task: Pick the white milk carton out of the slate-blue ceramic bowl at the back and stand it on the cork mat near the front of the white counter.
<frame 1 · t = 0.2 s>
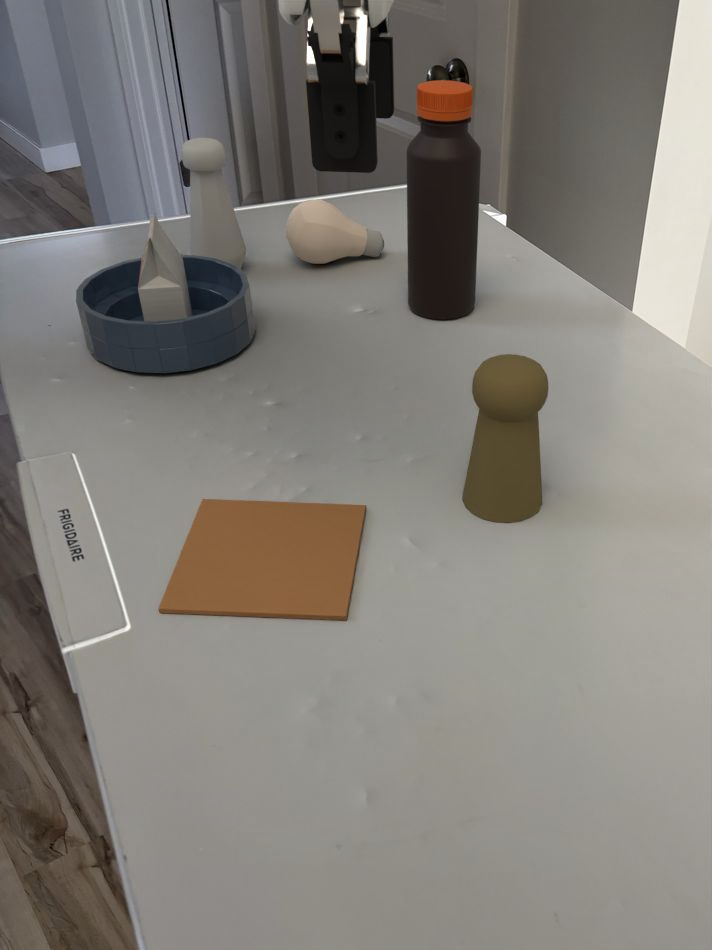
hand: (356, 141, 50), 25 cm above the table, tool pointing down, fingers open, 9 cm apart
light bulb: (337, 262, 103), on the table
bottle: (441, 308, 94), on the table
bowl: (173, 338, 88), on the table
pepper shaker: (502, 500, 69), on the table
mat: (269, 557, 64), on the table
salt shaker: (221, 272, 100), on the table
white milk carton: (173, 336, 88), resting on bowl
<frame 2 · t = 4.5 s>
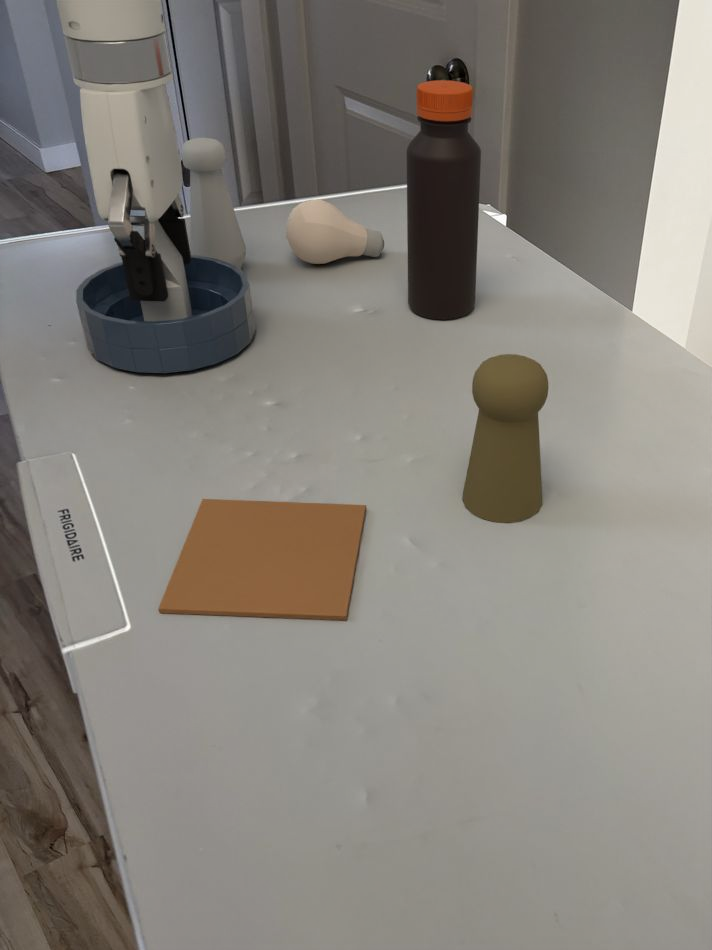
hand: (162, 279, 84), 6 cm above the table, tool pointing down, fingers closed on white milk carton, 7 cm apart
white milk carton: (173, 336, 88), resting on bowl, touching gripper
everything else where it was.
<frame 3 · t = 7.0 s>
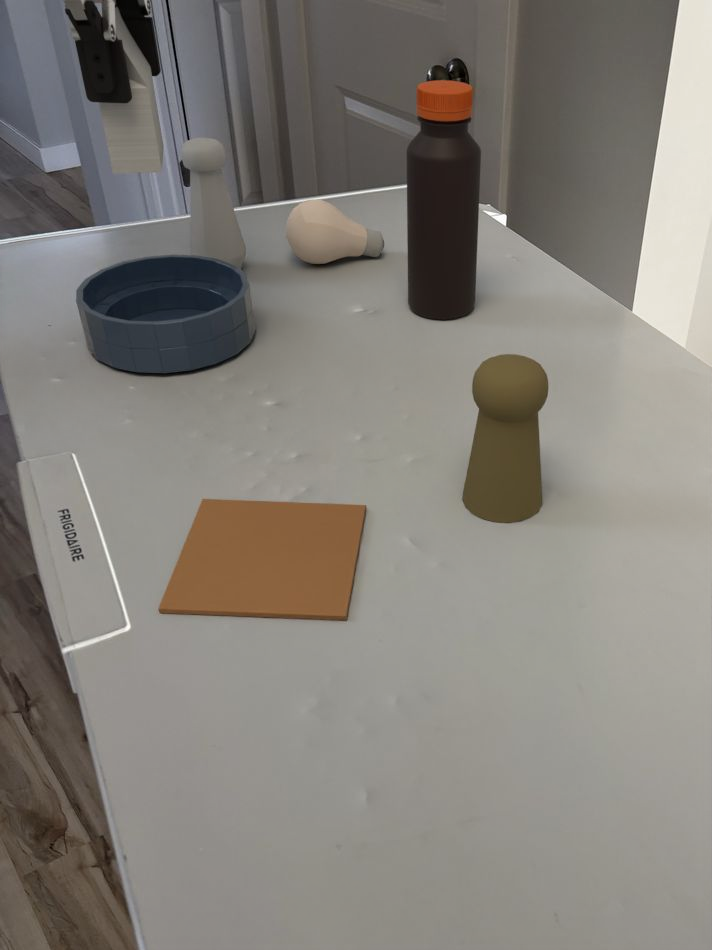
hand: (125, 86, 71), 22 cm above the table, tool pointing down, fingers closed on white milk carton, 7 cm apart
white milk carton: (139, 162, 75), point 16 cm above the table, touching gripper
everything else where it was.
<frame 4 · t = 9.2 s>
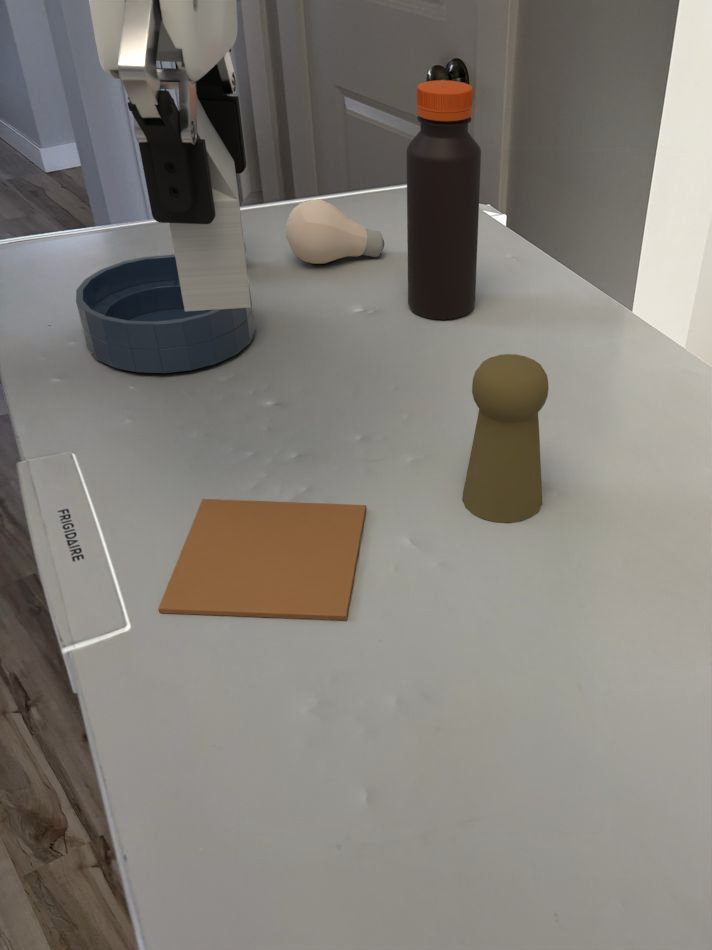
hand: (202, 192, 52), 23 cm above the table, tool pointing down, fingers closed on white milk carton, 7 cm apart
white milk carton: (217, 288, 55), point 17 cm above the table, touching gripper
everything else where it was.
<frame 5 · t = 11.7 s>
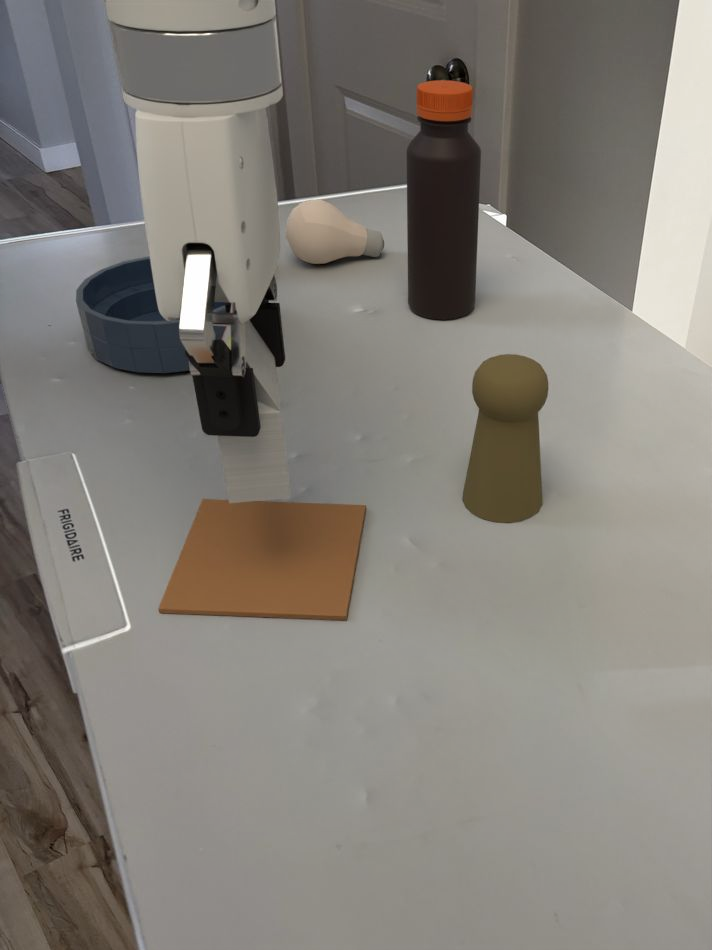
hand: (246, 395, 55), 12 cm above the table, tool pointing down, fingers closed on white milk carton, 7 cm apart
white milk carton: (258, 472, 59), point 7 cm above the table, touching gripper
everything else where it was.
when the fingers open (6 cm above the table, at t = 13.9 s): white milk carton stays where it is, resting on mat.
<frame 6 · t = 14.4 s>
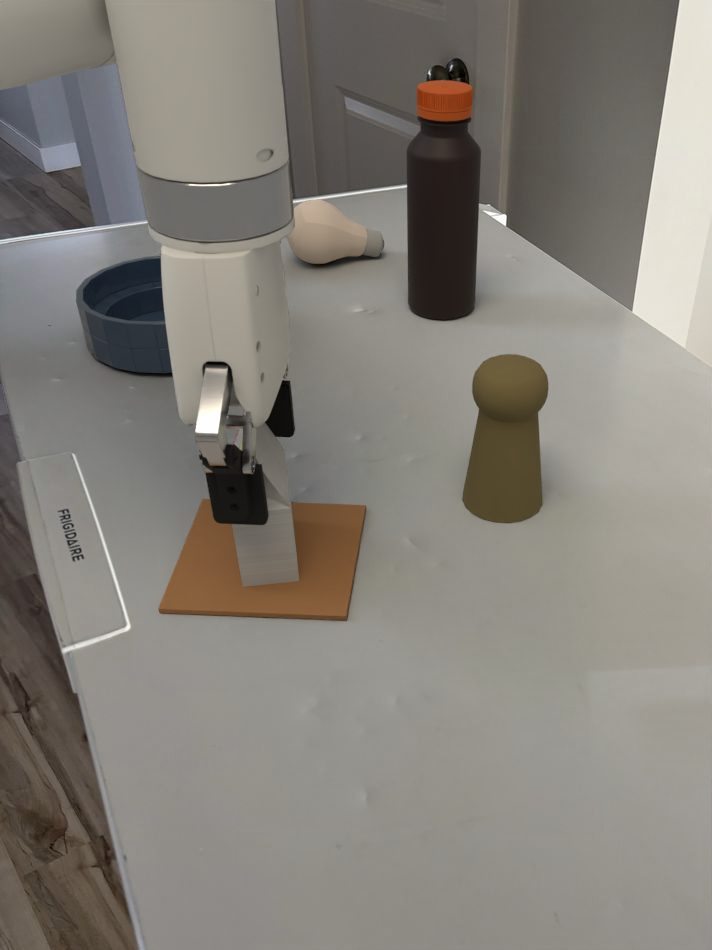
hand: (257, 475, 59), 7 cm above the table, tool pointing down, fingers open, 9 cm apart
white milk carton: (269, 554, 63), resting on mat
everything else where it was.
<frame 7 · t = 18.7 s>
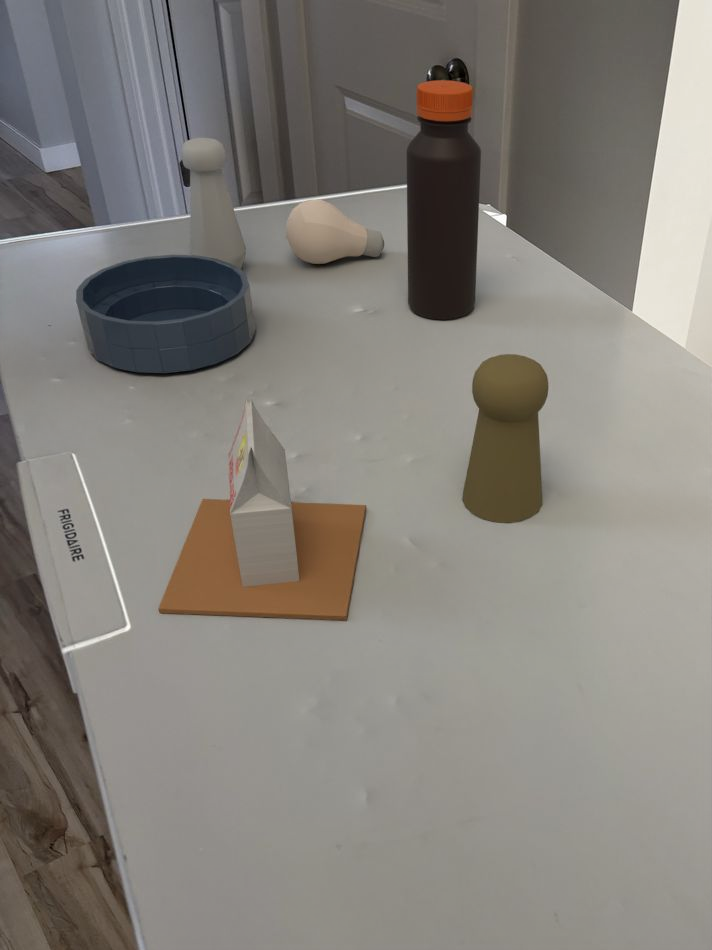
nothing on the table moved.
at the end: white milk carton inside the target area on the mat (0.1 cm from its centre), point 0.2 cm above the mat's base; white milk carton touching mat; white milk carton tilted 0° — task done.
